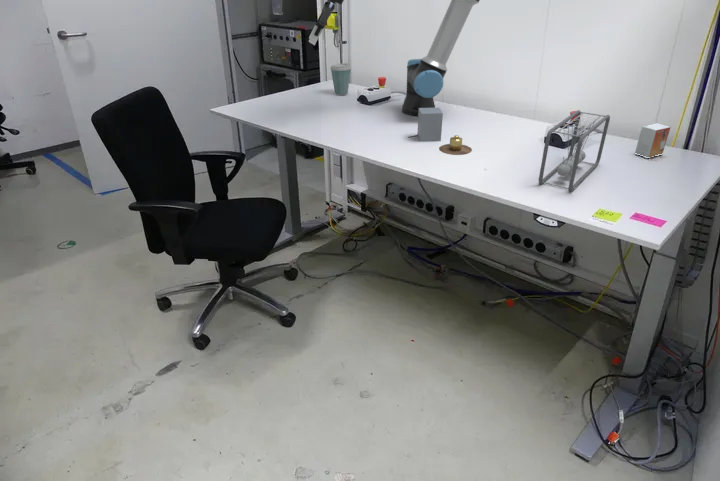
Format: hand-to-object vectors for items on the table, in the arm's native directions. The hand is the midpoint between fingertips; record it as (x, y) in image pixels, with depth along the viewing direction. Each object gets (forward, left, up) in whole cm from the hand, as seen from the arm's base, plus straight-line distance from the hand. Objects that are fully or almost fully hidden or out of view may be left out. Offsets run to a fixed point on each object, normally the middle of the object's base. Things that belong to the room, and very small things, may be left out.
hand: (311, 41), depth 201 cm
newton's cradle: (-44, +96, -34) cm, 111 cm away
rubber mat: (-28, +42, -34) cm, 61 cm away
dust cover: (-28, +42, -33) cm, 60 cm away
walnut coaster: (-28, +58, -34) cm, 72 cm away
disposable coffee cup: (-36, -39, -34) cm, 63 cm away
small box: (-82, +100, -34) cm, 133 cm away
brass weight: (-28, +58, -33) cm, 72 cm away
